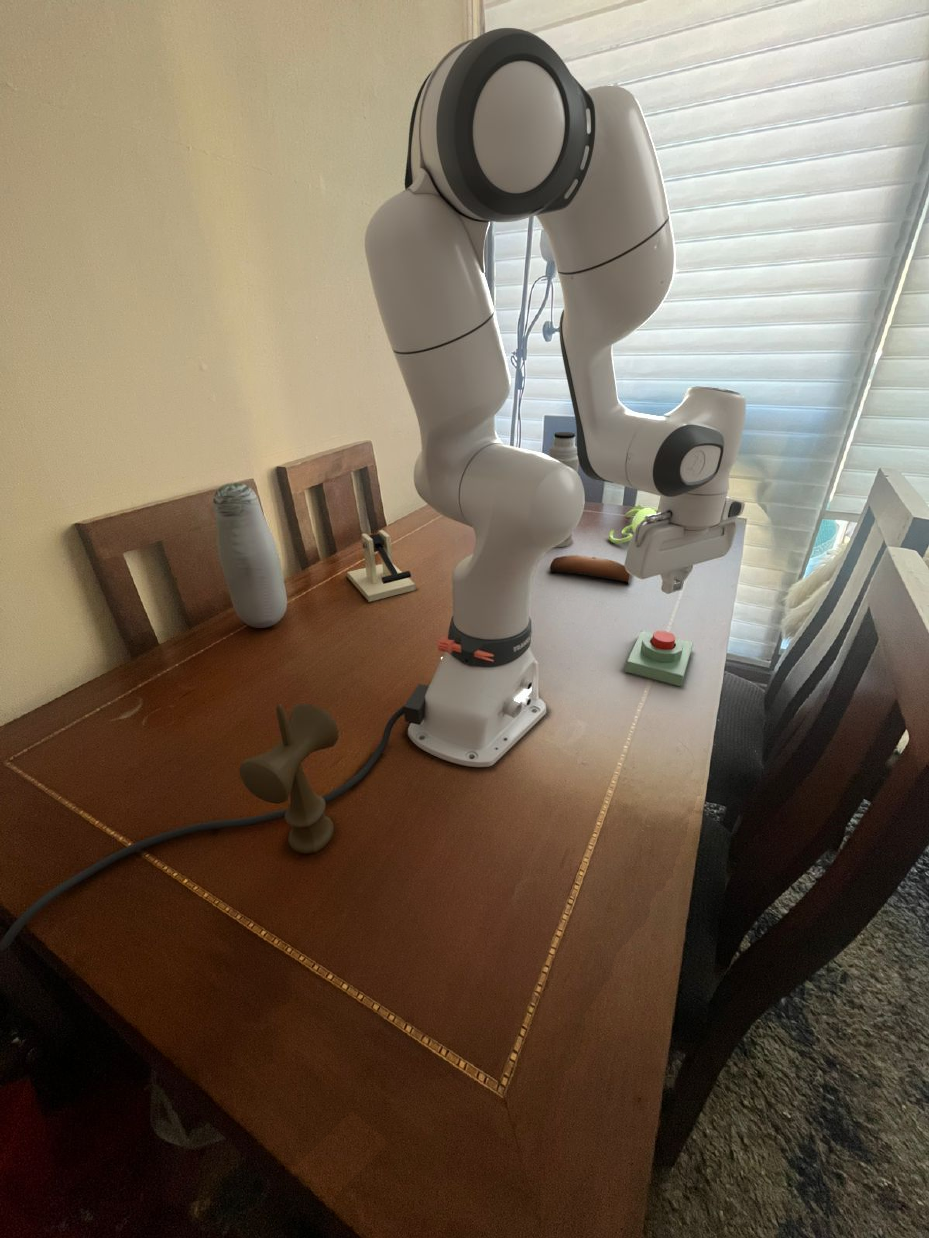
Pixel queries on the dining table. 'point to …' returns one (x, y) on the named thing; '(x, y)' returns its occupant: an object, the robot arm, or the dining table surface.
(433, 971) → the dining table surface
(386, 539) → the switch bracket
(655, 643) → the stop button
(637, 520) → the figurine
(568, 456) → the thermos bottle
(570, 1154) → the dining table surface
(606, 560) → the sunglasses case
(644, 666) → the stop box
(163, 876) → the dining table surface
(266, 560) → the grey bottle
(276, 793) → the kendama
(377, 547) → the switch lever
